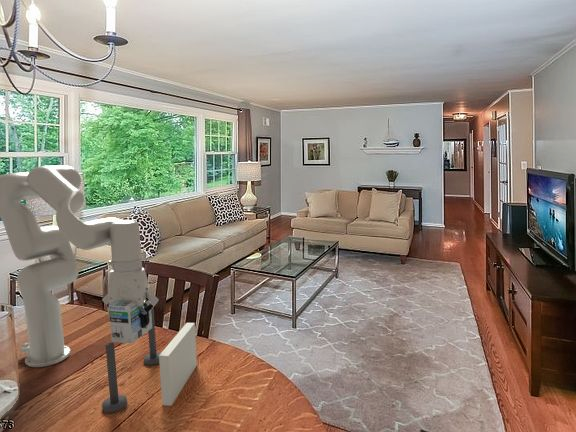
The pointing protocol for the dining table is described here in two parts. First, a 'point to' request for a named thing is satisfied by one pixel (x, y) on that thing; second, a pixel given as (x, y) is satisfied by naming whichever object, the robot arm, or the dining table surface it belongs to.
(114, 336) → the light bulb box
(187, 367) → the breaker panel
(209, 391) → the dining table surface
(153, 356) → the cord post
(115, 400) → the post
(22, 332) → the dining table surface
